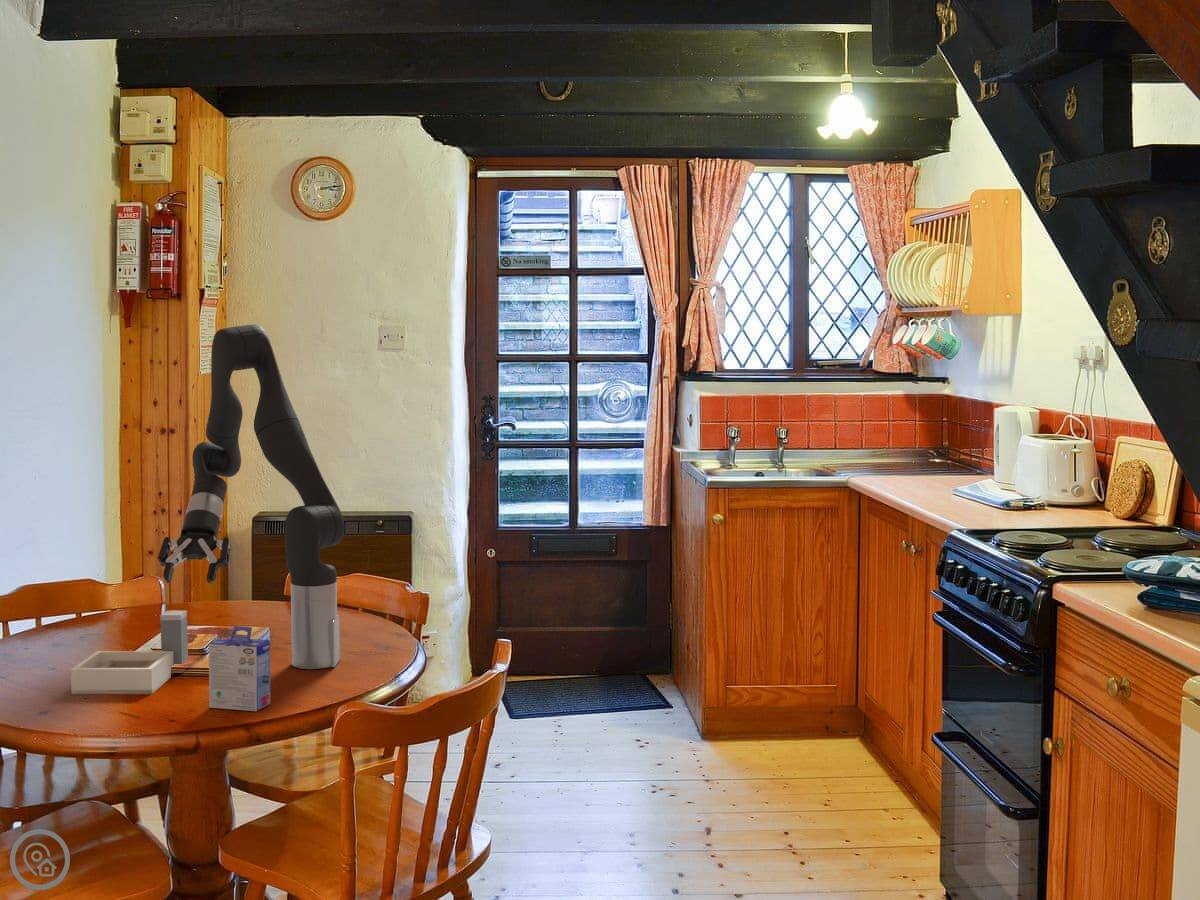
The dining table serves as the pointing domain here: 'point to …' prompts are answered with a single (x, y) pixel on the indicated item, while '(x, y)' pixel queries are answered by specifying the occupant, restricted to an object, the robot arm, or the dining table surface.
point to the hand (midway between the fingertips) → (188, 581)
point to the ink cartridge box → (239, 672)
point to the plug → (175, 634)
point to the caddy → (122, 672)
